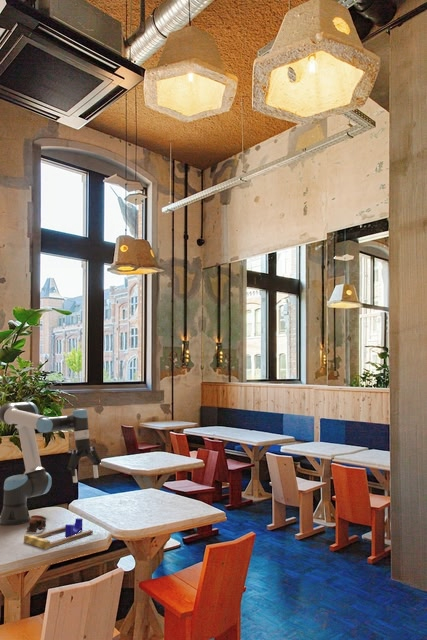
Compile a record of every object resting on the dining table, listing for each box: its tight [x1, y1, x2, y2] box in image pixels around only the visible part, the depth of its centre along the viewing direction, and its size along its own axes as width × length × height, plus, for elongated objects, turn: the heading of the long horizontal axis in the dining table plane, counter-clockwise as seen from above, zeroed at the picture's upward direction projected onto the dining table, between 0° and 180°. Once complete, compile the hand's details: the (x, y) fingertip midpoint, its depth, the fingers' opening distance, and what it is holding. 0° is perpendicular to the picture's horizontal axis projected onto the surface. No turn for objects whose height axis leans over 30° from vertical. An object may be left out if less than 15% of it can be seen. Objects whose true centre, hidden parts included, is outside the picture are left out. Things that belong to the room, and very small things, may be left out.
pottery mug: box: [26, 515, 47, 533], centre depth 259 cm, size 12×10×8 cm
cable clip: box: [64, 517, 83, 538], centre depth 252 cm, size 12×4×6 cm, turn 168°
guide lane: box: [23, 526, 94, 550], centre depth 246 cm, size 17×27×3 cm, turn 144°
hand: (86, 480), depth 266 cm, fingers open, 13 cm apart
